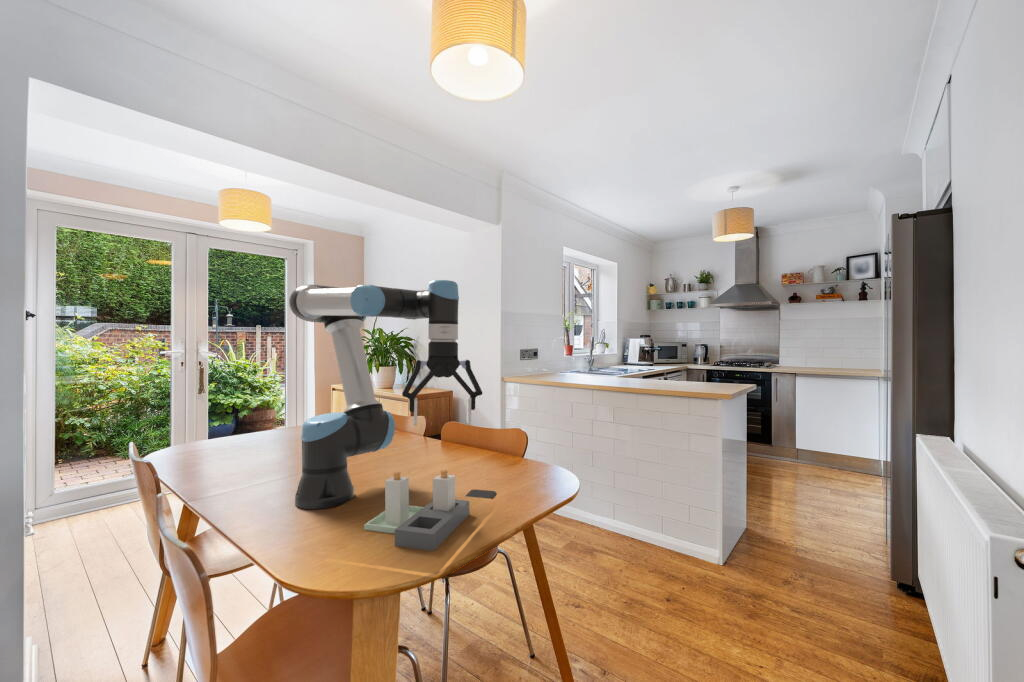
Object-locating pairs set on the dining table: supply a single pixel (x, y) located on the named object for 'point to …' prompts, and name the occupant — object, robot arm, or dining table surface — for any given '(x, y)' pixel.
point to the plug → (396, 499)
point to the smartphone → (481, 494)
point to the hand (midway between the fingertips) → (442, 423)
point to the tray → (381, 526)
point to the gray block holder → (434, 517)
